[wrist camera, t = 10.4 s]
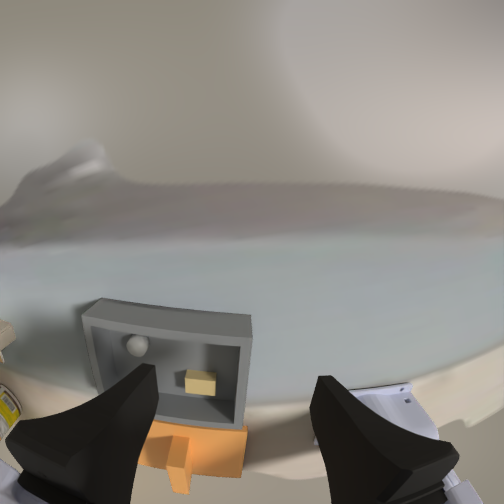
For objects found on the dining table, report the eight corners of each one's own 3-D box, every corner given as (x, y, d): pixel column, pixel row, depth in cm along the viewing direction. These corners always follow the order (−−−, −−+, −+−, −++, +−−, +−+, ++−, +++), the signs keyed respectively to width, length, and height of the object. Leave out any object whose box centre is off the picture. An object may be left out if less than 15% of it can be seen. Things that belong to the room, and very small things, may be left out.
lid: (247, 419, 23) (248, 464, 17) (240, 466, 25) (241, 504, 19) (124, 402, 22) (105, 441, 17) (138, 452, 24) (127, 487, 19)
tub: (250, 314, 20) (252, 337, 17) (241, 402, 22) (242, 429, 19) (102, 297, 20) (81, 315, 16) (115, 384, 21) (102, 406, 18)
